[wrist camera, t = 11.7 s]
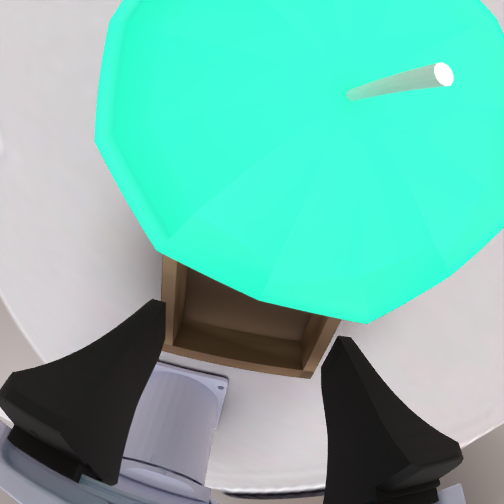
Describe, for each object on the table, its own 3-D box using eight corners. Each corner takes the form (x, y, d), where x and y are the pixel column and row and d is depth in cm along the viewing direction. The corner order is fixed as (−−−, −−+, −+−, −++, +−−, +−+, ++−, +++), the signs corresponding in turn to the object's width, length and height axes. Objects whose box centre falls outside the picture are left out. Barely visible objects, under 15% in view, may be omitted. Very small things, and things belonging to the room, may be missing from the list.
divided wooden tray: (309, 354, 19) (313, 392, 16) (166, 326, 19) (150, 361, 16) (406, 59, 11) (439, 48, 7) (211, 10, 10) (194, -17, 7)
